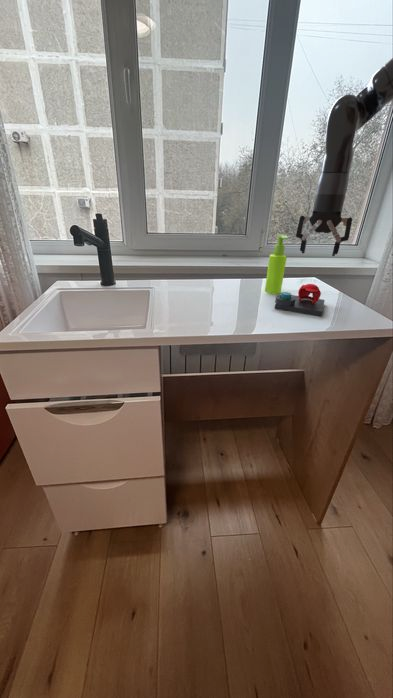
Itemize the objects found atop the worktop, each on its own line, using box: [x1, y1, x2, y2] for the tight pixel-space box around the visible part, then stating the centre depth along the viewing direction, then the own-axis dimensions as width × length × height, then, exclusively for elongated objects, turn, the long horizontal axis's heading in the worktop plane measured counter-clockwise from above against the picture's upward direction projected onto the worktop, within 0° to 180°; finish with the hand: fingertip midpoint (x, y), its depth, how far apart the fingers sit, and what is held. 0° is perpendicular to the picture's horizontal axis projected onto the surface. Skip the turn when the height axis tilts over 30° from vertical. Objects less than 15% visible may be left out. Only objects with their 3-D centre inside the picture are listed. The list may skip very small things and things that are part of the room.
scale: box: [274, 294, 326, 318], centre depth 92 cm, size 14×12×4 cm
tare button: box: [280, 291, 292, 300], centre depth 90 cm, size 3×3×2 cm
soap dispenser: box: [264, 234, 289, 295], centre depth 102 cm, size 6×7×20 cm
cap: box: [297, 283, 322, 304], centre depth 91 cm, size 8×6×6 cm
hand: (318, 254), depth 86 cm, fingers open, 8 cm apart
